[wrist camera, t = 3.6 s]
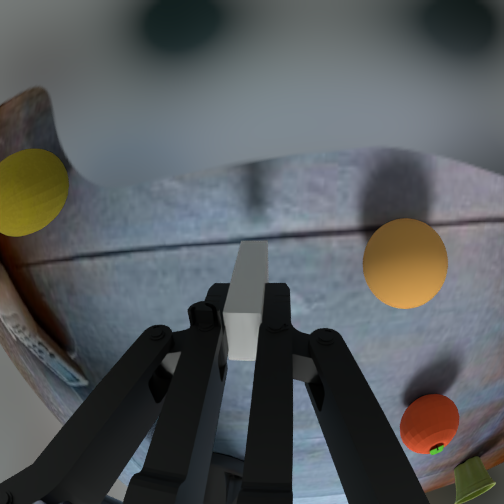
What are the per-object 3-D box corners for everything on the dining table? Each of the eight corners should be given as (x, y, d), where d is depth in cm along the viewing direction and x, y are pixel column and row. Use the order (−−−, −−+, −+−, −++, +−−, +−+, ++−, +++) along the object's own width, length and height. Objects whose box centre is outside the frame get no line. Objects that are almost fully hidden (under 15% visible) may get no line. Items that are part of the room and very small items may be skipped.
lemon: (97, 199, 20) (28, 247, 13) (49, 216, 21) (-16, 262, 14) (76, 128, 18) (-5, 151, 11) (29, 154, 19) (-45, 183, 12)
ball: (350, 279, 21) (367, 330, 16) (358, 205, 19) (384, 241, 14) (418, 277, 21) (448, 323, 16) (432, 207, 18) (473, 241, 13)
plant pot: (457, 460, 38) (466, 495, 30) (492, 446, 37) (503, 478, 29) (440, 477, 42) (447, 508, 34) (474, 465, 41) (483, 494, 33)
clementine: (450, 404, 28) (466, 449, 22) (400, 426, 30) (411, 473, 24) (446, 372, 26) (468, 423, 19) (388, 399, 28) (402, 453, 21)
